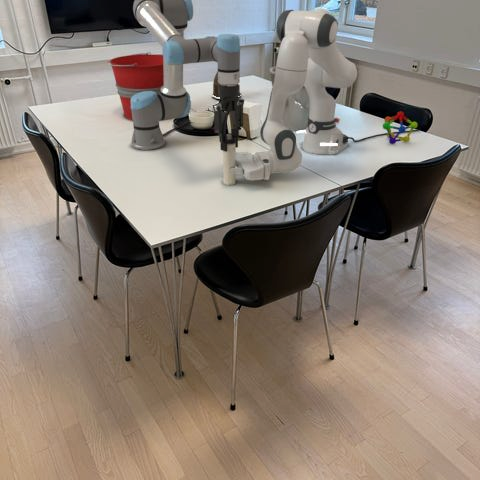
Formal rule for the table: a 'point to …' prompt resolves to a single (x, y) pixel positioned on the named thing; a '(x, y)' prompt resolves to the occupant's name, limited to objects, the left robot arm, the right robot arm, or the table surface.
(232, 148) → the jar
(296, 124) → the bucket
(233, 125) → the left robot arm
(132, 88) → the bucket
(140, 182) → the table surface
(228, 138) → the lid
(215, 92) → the bell
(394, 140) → the educational toy
